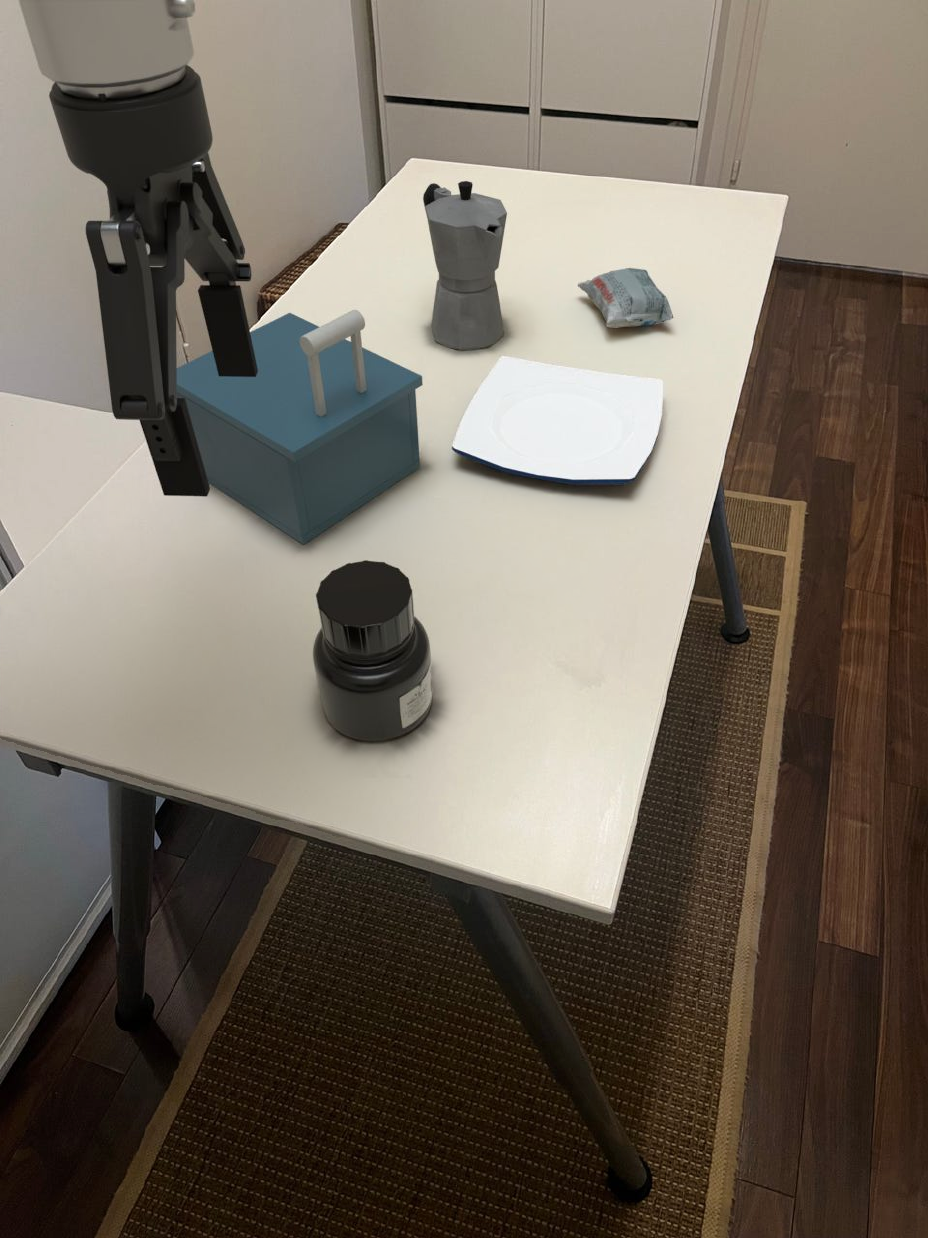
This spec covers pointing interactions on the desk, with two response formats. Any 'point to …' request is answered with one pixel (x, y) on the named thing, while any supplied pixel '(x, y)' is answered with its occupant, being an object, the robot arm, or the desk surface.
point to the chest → (310, 468)
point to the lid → (300, 384)
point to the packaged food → (628, 298)
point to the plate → (562, 423)
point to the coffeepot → (465, 265)
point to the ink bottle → (371, 652)
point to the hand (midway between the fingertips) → (214, 429)
